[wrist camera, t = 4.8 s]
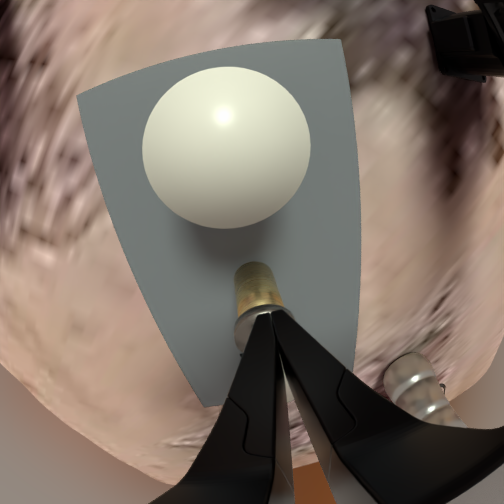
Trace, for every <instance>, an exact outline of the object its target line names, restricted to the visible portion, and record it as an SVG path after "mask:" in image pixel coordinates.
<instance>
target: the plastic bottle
mask: <svg viewBox="0 0 504 504" xmlns="http://www.w3.org/2000/svg"><path fill="white" fill-rule="evenodd" d="M383 384H384V387H385V391H386V393H387V395H388V396H389V398H390V399H391V400H392V401H393V403H394V404H395V405H397V406H398V407H400V408H402V409H403V410H405V411H406V412H408V413H409V414H411V415H413V416H414V417H416V418H418V419H420V420H422V421H425V422H428V423H432V424H438V425H446V426H454V427H463V428H468V427H467V426H466V425H465V424H464V422H463V421H462V420H461V419H460V418H459V416H458V415H457V414H456V412H455V411H454V409H453V408H452V407H451V406H450V403H449V402H448V400H447V399H446V397H445V395H444V393H443V391H442V389H441V387H440V385H439V382H438V380H437V378H436V375H435V372H434V369H433V367H432V365H431V363H430V361H429V360H428V359H427V358H426V357H425V356H424V355H423V354H419V353H415V352H414V353H409V354H406V355H404V356H402V357H400V358H399V359H397V360H396V361H395V362H394V363H392V364H391V365H390V366H389V368H388V369H387V370H386V372H385V374H384V379H383Z"/></svg>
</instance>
